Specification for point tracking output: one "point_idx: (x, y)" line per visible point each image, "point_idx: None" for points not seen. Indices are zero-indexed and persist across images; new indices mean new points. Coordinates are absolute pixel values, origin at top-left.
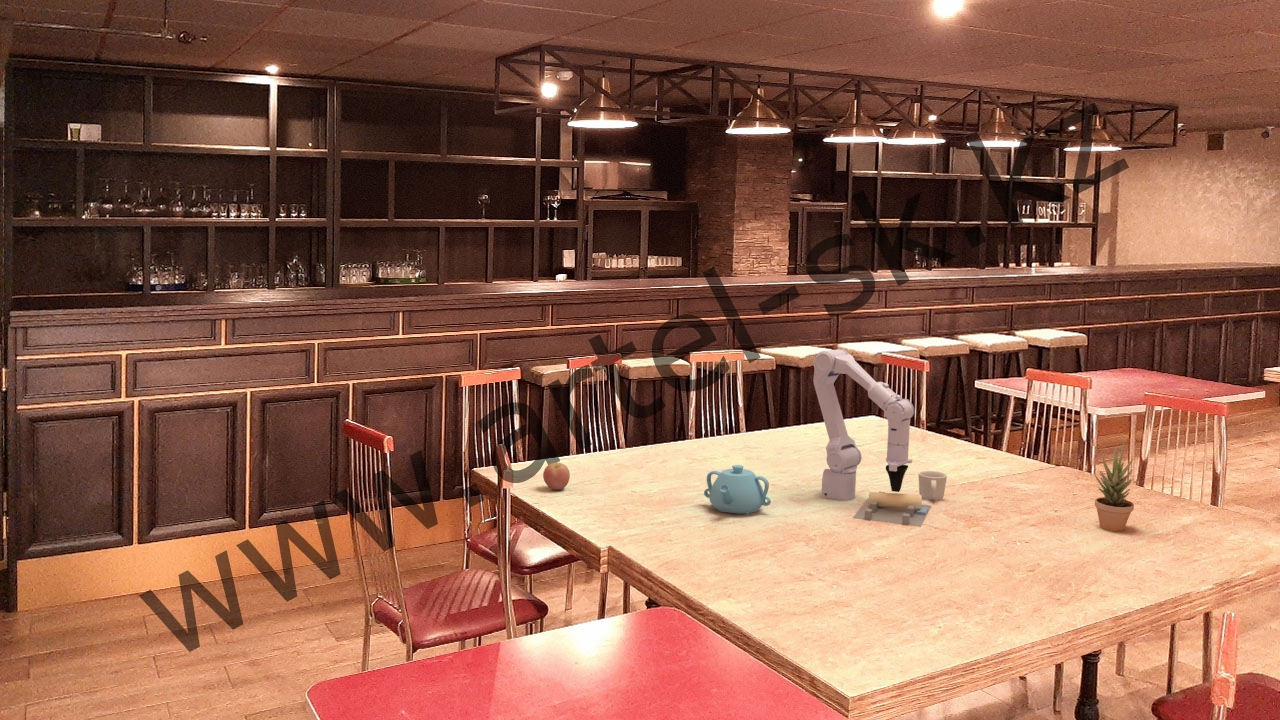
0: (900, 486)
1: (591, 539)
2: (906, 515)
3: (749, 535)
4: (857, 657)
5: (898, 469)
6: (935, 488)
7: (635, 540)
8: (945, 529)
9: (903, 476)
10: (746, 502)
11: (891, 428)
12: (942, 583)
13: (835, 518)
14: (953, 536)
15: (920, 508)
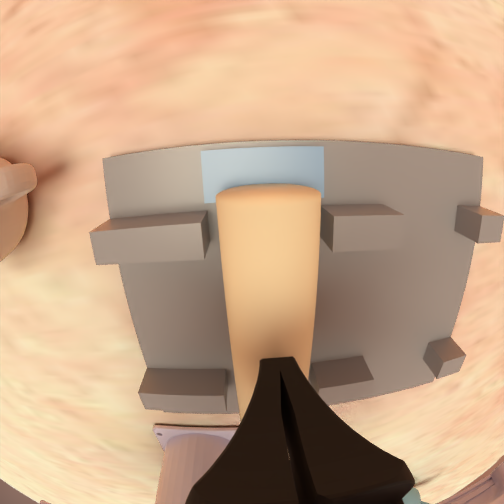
0: (305, 378)
1: (479, 475)
2: (498, 226)
3: (493, 428)
4: None
5: (400, 501)
6: (7, 169)
7: (488, 463)
8: (425, 56)
9: (268, 434)
10: (419, 496)
11: None
12: None
13: (404, 410)
14: (477, 44)
15: (278, 184)
